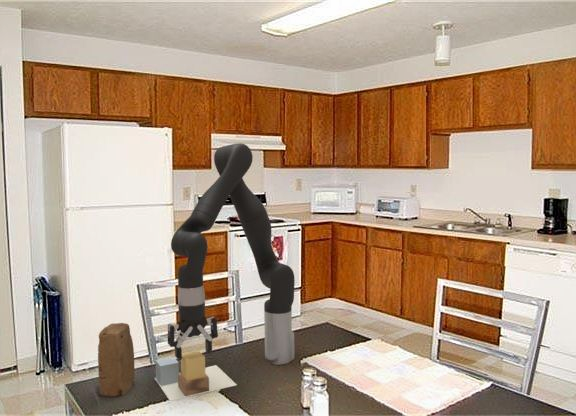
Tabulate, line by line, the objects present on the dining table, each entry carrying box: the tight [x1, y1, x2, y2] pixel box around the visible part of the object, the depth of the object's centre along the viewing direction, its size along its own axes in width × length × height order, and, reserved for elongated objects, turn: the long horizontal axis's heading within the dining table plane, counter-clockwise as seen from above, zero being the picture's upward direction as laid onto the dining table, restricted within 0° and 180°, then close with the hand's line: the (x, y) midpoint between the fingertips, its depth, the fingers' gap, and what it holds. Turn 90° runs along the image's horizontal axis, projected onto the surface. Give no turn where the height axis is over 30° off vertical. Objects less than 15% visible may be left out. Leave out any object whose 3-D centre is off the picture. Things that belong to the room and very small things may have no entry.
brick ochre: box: [180, 350, 206, 381], centre depth 144 cm, size 6×6×6 cm
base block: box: [178, 372, 209, 397], centre depth 144 cm, size 7×7×4 cm
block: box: [97, 322, 135, 397], centre depth 144 cm, size 11×8×20 cm
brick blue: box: [155, 356, 180, 386], centre depth 150 cm, size 6×6×6 cm
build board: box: [154, 364, 238, 402], centre depth 149 cm, size 20×17×1 cm
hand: (193, 356), depth 143 cm, fingers open, 8 cm apart
